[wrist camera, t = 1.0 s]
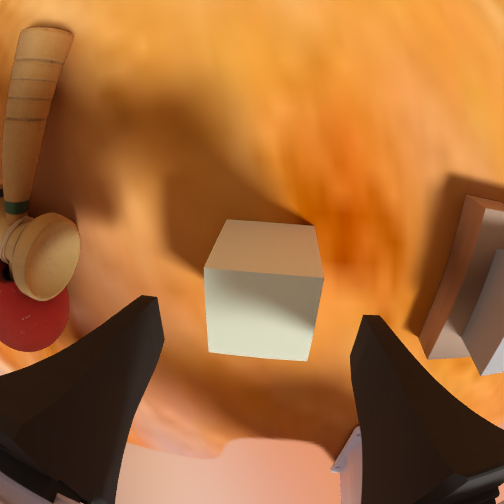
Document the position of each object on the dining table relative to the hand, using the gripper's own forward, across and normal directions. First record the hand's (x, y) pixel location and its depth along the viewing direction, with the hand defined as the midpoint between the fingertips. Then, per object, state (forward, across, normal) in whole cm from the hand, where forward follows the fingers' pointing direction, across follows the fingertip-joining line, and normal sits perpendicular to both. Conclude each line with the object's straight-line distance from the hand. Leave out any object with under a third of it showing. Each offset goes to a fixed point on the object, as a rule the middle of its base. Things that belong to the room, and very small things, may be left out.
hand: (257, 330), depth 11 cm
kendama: (+6, +13, -3) cm, 14 cm away
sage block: (+5, 0, 0) cm, 5 cm away
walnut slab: (+6, -14, 0) cm, 15 cm away
